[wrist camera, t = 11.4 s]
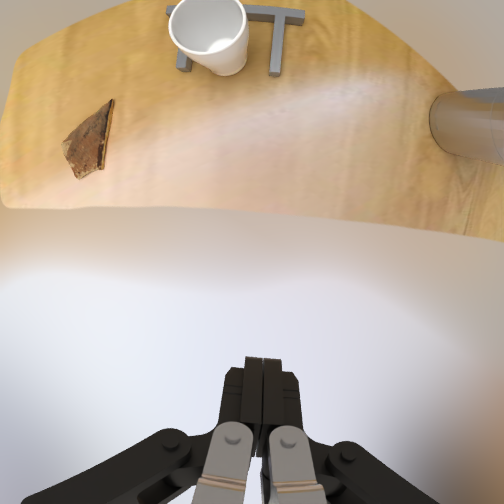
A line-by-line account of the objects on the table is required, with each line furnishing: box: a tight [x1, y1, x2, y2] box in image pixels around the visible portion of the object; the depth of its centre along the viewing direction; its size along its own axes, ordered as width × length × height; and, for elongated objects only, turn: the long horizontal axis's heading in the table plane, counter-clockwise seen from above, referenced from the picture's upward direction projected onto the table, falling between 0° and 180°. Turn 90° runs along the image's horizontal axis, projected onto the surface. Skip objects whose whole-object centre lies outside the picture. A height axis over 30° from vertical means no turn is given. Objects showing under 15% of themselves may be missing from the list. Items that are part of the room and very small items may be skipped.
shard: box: [61, 99, 113, 180], centre depth 39 cm, size 11×8×2 cm
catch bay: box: [166, 5, 305, 77], centre depth 32 cm, size 17×9×3 cm, turn 85°
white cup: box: [169, 0, 249, 76], centre depth 28 cm, size 7×7×15 cm
